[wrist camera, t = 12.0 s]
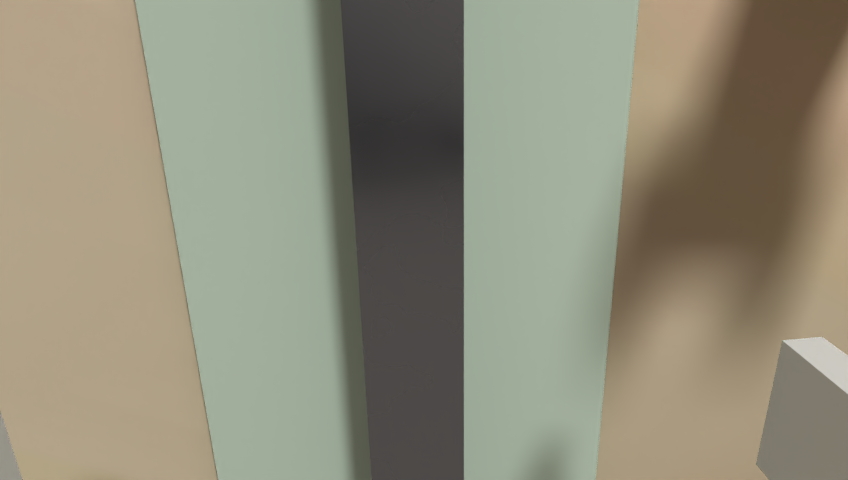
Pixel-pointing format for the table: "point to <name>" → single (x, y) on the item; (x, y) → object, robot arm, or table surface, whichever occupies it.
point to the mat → (336, 237)
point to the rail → (409, 228)
